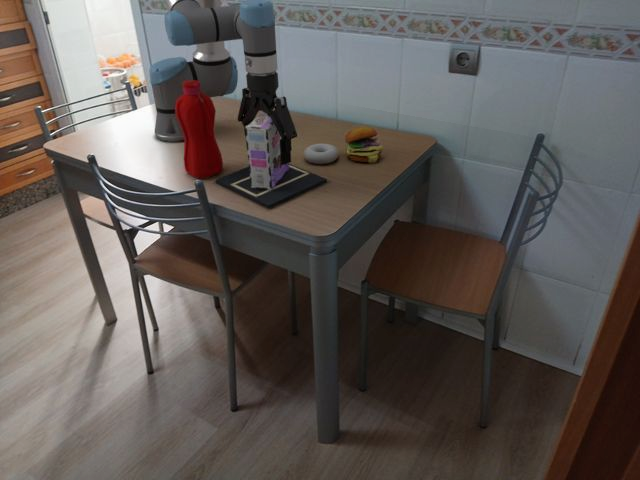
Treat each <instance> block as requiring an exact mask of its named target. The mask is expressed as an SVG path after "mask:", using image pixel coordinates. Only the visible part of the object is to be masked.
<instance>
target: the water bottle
mask: <svg viewBox="0 0 640 480" xmlns="http://www.w3.org/2000/svg"><path fill="white" fill-rule="evenodd" d="M182 85H183V91H184V94H183V95H182V96H180V97H179V98H178V99H177V101H176V105H175V113H176V117H177V120H178V122H179V124H180V127H181V129H182V131H183V134H184V139H185V141H184V148H183V164H184V169H185V171H186V173H187V174H188V175H189V176H192V177H194V178H197V179H202V180H203V179H208V178H210V177H212V176H215V175H217V174H220V173H221V172H222V171H223V169H224V161H223V156H222V153H221V150H220V148H219V145H218V142H217V139H216V137H215V136H216V135H215V124H216V123H215V121H216V112H217V111H216V107H215V104H214V102H213V99H212V97H209V96H207V95H206V94H204V93H202V92H201V89H200V82H199V81H196V80H191V81H186V82H183V83H182Z"/></svg>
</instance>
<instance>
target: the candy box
mask: <svg viewBox="0 0 640 480" xmlns="http://www.w3.org/2000/svg"><path fill="white" fill-rule="evenodd" d="M273 110H274V109H273ZM273 110H272V111H273ZM245 131H246V136H245V143H246V142H247V145H246V151H247V160H248V167H249V171H250V181H251V188H257V189H265V190H272V189H273V188H274V187H275V185H276V184H277V183H278V182H279V181H280V179H281V178H282V177H283V176H284V174H285V173H286V172H287V171H288V170H289V164H290V163H287V164H285V165H282V164H281V155H280V139H282V138H281V136H280V134H279V132H278V130H277V129H276V127H275V125H274V123H273V121H272V119H271V117H270V116H268V115H267V113H264V112H263V111H262V112H261V113H260V115H258V116H257V117H255V118H254V120H253V121H252V122H251V123H250V124H249V125H247V126H246V127H245ZM285 135H286V134H285Z"/></svg>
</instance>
